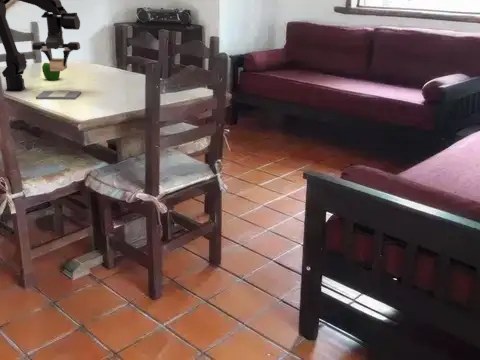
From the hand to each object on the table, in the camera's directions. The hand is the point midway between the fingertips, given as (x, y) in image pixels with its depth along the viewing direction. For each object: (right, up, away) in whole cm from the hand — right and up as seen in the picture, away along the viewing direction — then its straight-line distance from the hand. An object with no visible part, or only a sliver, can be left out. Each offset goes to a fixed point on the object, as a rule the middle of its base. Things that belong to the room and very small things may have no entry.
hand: (58, 66), depth 235 cm
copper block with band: (0, -1, 0) cm, 1 cm away
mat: (+2, -13, -4) cm, 14 cm away
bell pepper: (-12, -1, +29) cm, 32 cm away
